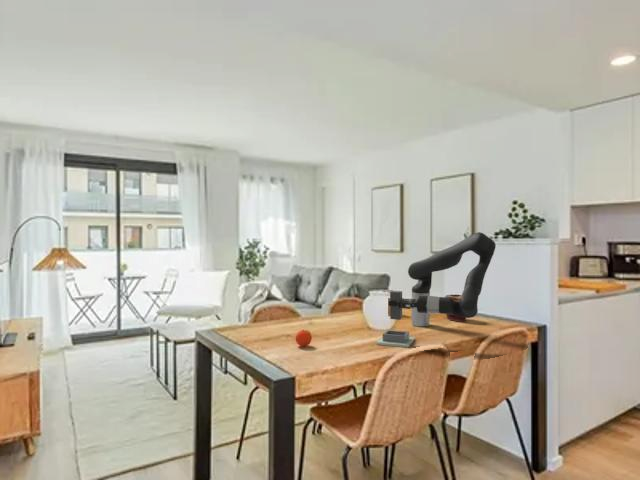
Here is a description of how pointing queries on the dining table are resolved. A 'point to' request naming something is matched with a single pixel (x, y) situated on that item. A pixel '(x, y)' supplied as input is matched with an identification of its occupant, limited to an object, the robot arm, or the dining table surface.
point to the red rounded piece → (303, 338)
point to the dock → (396, 339)
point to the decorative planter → (453, 317)
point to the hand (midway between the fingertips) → (390, 302)
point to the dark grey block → (394, 310)
